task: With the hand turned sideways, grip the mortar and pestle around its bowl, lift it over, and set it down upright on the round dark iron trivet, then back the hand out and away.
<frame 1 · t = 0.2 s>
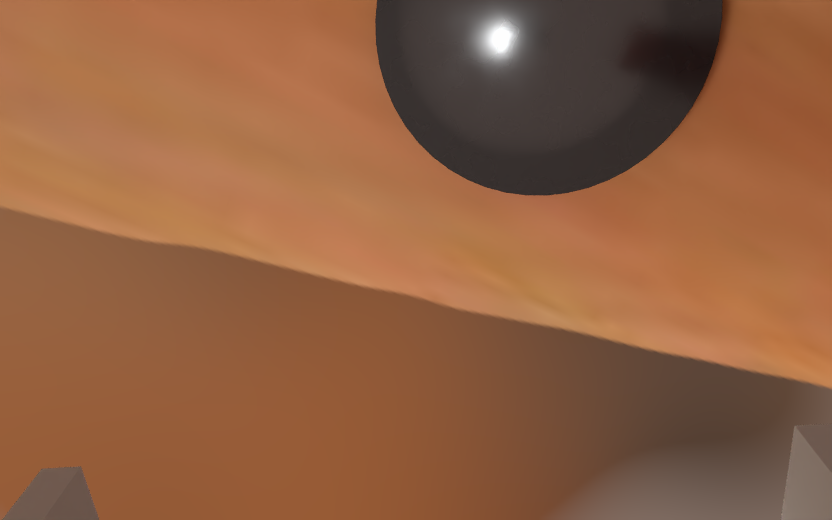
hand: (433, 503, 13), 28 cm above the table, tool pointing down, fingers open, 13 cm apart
iron trivet: (542, 28, 36), on the table
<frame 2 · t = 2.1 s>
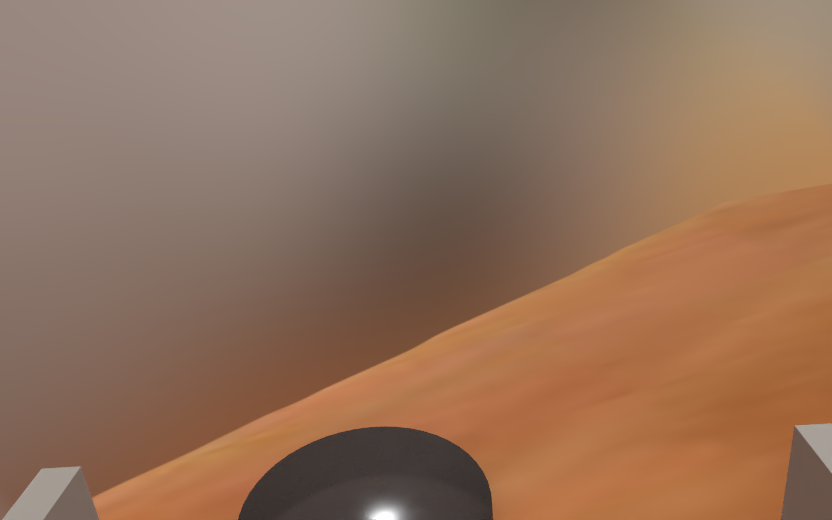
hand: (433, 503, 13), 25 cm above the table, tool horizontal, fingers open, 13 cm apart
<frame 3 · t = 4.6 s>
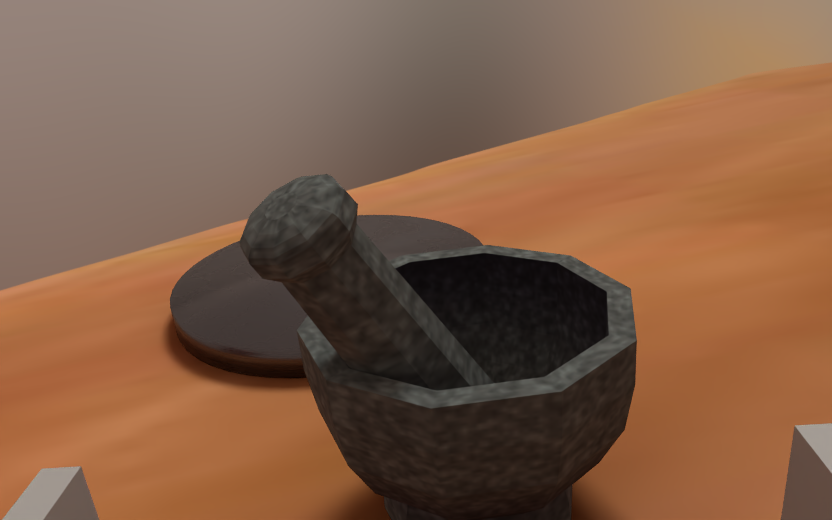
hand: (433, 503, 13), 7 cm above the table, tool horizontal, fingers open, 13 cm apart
iron trivet: (335, 293, 38), on the table
mortar and pestle: (464, 510, 23), on the table
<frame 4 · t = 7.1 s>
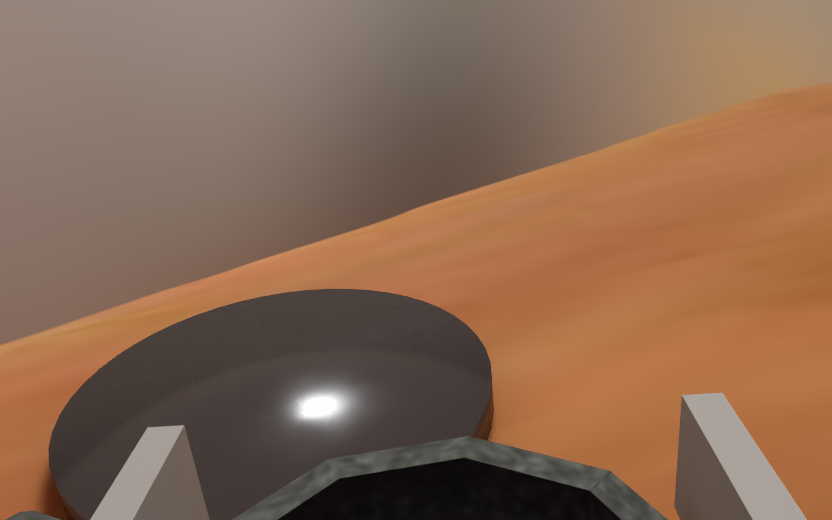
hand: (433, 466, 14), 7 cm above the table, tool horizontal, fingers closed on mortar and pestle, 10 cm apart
iron trivet: (285, 411, 29), on the table
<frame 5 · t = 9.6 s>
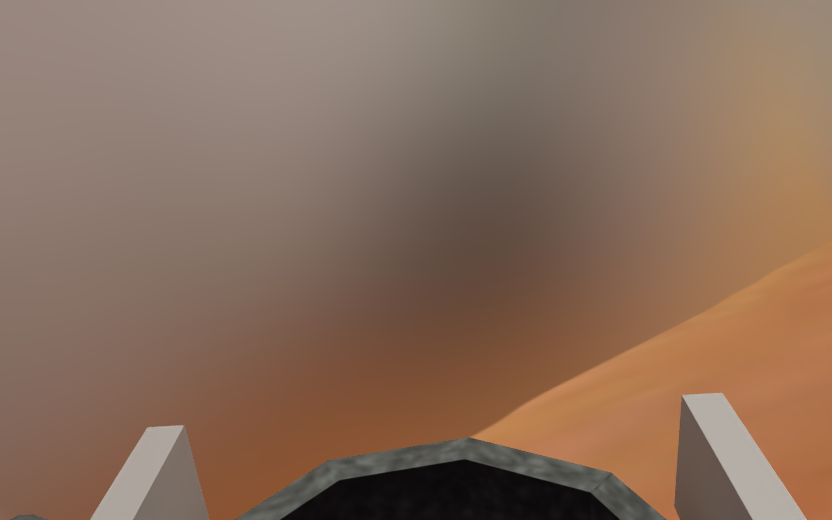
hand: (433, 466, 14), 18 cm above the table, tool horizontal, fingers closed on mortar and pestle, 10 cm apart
when the fingers open (10 cm above the table, at t = 12.5 s): mortar and pestle drops 1 cm, resting on iron trivet.
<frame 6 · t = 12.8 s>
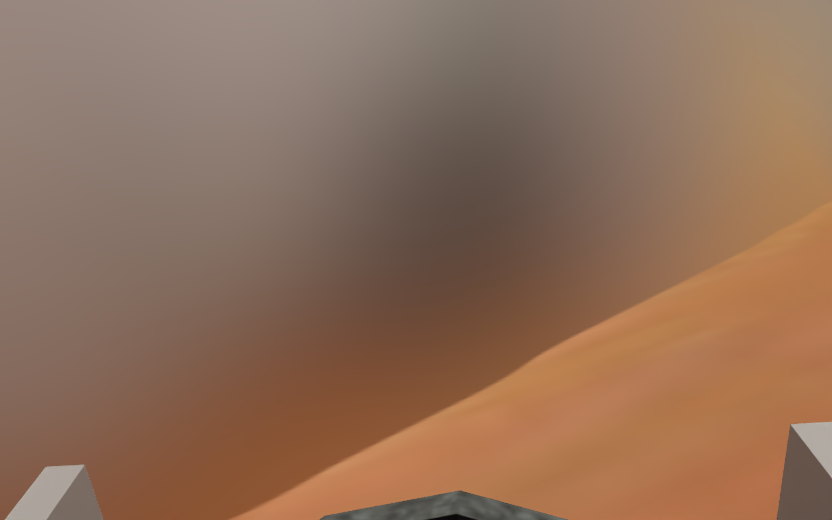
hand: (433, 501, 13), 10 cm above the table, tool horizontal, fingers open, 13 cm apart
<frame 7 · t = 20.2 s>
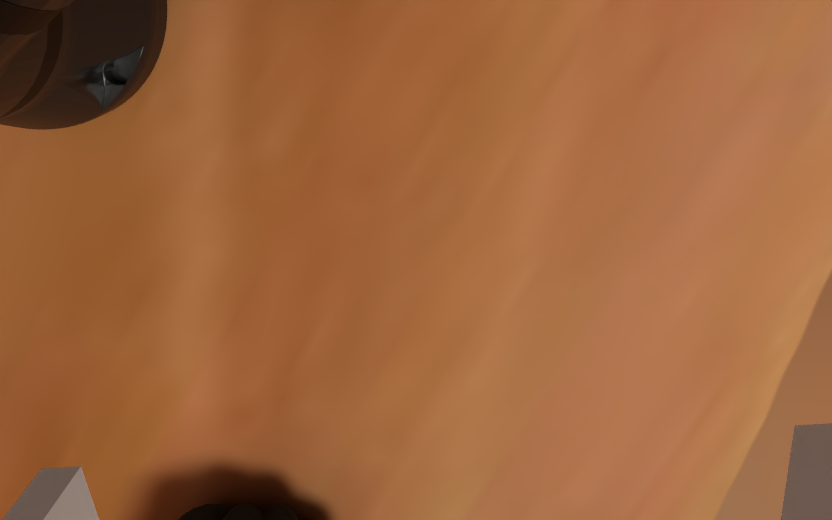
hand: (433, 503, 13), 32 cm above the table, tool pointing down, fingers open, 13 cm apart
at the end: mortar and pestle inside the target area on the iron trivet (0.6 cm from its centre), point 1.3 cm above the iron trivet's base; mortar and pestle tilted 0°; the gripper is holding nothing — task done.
